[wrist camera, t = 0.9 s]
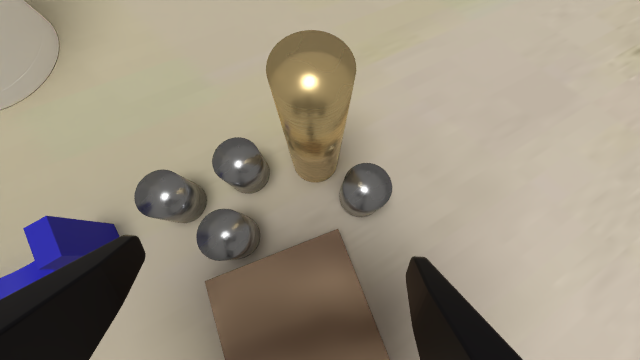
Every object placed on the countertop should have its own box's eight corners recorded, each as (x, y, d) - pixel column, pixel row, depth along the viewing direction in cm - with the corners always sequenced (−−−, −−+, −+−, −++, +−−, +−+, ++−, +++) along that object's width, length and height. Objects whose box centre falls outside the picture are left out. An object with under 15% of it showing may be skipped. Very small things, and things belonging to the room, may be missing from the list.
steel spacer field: (386, 208, 23) (400, 199, 19) (184, 287, 22) (154, 295, 18) (347, 119, 25) (352, 96, 22) (160, 185, 24) (128, 173, 20)
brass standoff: (343, 173, 24) (370, 90, 12) (302, 188, 24) (283, 120, 11) (327, 135, 25) (336, 20, 12) (287, 149, 25) (254, 45, 12)
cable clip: (-10, 359, 20) (-141, 402, 15) (-26, 305, 21) (-154, 326, 16) (135, 269, 22) (70, 277, 16) (115, 224, 23) (46, 215, 17)
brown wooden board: (408, 410, 20) (415, 423, 18) (265, 478, 18) (260, 497, 17) (336, 230, 23) (337, 228, 21) (212, 279, 22) (204, 281, 20)
